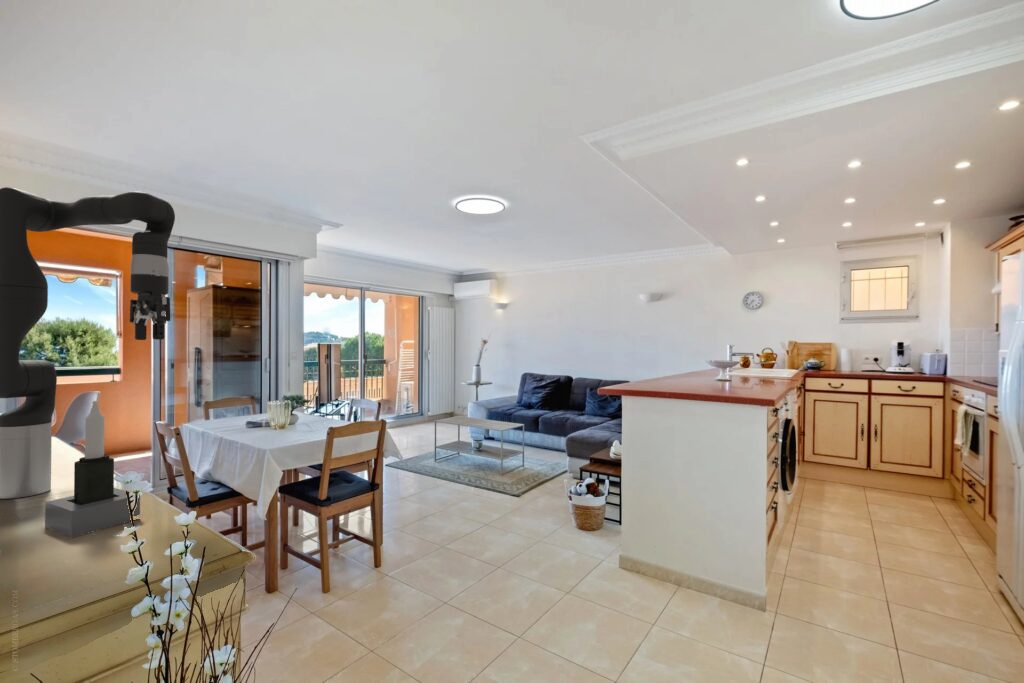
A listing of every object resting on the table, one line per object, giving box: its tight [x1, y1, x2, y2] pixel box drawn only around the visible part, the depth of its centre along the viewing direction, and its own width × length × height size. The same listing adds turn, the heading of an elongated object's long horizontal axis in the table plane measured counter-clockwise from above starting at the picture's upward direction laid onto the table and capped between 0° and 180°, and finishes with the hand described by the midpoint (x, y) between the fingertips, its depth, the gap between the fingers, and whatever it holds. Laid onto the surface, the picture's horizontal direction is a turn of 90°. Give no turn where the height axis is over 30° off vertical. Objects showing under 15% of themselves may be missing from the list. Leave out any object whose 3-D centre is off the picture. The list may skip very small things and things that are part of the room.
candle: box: [73, 400, 115, 505], centre depth 96 cm, size 5×5×25 cm
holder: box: [44, 487, 141, 538], centre depth 95 cm, size 12×11×5 cm
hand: (149, 339), depth 116 cm, fingers open, 8 cm apart
